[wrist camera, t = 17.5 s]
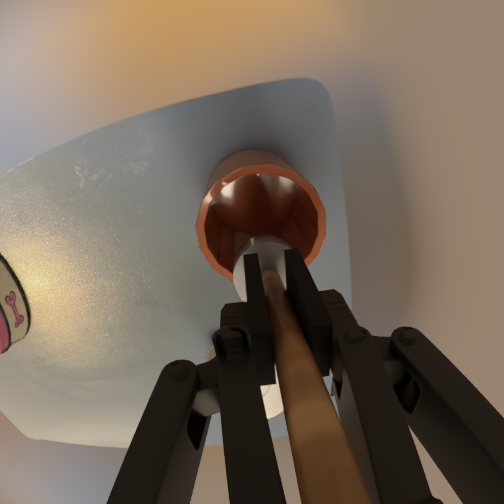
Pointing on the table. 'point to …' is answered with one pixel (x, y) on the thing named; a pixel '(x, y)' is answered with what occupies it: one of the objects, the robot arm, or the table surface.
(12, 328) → the dog bowl
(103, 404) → the table surface
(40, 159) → the table surface
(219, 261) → the crock
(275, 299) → the toilet plunger
